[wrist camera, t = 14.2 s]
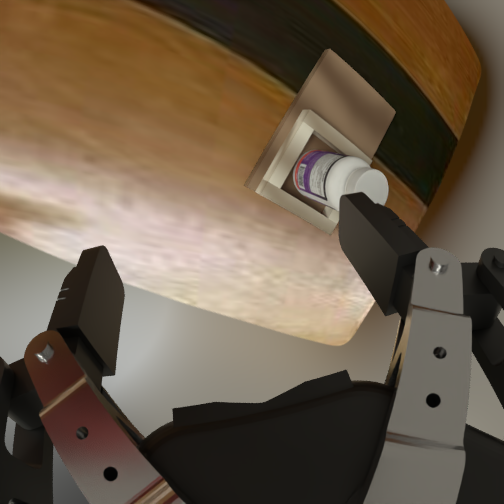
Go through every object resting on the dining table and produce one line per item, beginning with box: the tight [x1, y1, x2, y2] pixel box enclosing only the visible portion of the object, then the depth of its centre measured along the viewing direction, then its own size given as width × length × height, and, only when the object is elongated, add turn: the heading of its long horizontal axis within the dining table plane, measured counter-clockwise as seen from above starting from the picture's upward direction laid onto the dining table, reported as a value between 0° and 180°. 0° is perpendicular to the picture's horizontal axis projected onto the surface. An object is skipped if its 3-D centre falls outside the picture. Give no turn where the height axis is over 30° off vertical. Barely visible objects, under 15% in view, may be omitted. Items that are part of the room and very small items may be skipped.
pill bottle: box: [293, 150, 388, 212], centre depth 30 cm, size 5×5×10 cm
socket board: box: [244, 49, 396, 235], centre depth 33 cm, size 18×12×2 cm, turn 148°
